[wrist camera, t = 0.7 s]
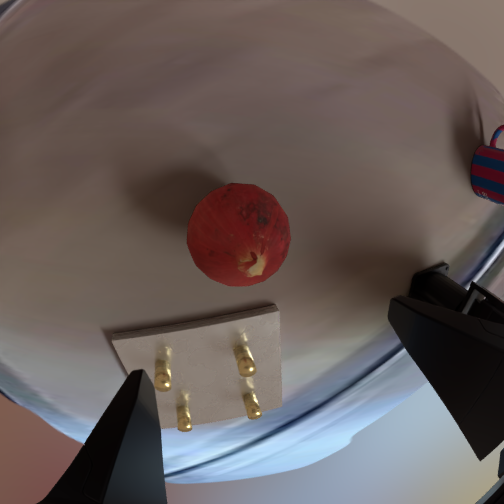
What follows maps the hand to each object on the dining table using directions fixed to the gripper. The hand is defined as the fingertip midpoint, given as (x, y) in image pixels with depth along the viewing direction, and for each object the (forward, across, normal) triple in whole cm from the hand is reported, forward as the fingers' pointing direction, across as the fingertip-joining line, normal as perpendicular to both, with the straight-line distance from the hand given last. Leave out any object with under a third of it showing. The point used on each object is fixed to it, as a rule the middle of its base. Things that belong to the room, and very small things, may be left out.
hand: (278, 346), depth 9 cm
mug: (+12, -33, -3) cm, 35 cm away
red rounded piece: (+12, 0, -1) cm, 12 cm away
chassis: (+12, +4, +14) cm, 19 cm away
